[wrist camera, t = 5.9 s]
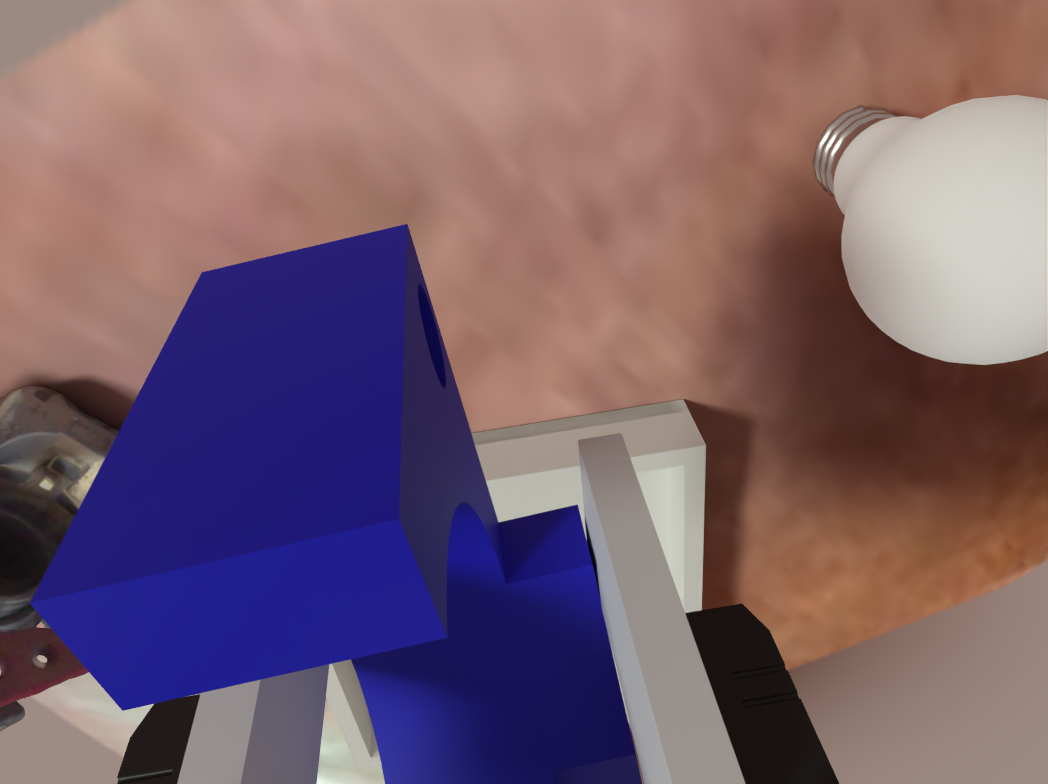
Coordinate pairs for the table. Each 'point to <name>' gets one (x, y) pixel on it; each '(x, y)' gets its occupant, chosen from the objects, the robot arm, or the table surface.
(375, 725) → the blue curved block
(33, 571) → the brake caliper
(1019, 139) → the light bulb
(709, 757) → the robot arm
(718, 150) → the table surface
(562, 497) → the kit tray
